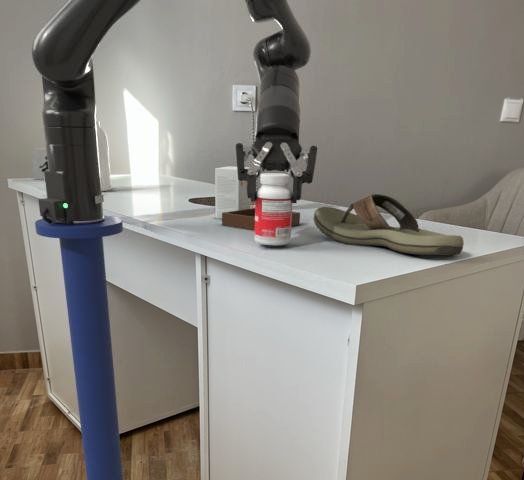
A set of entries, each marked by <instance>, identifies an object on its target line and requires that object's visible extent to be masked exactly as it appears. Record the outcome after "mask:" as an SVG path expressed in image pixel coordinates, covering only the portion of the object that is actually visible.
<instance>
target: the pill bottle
mask: <svg viewBox="0 0 524 480" xmlns="http://www.w3.org/2000/svg"><path fill="white" fill-rule="evenodd" d="M259 180H260V181H259V182H260V184H261V186H260V187H258V188H257V189H256V196H255V202H254V208H255V230H254V241H255V243H256V244H259V245H264V246H283V245H287V244H289V243H290V242H291V239H292V226H291V221H292V212H293V203H292V198H293V190H291V189H290V188H288V185H289V184H290V177H289V175H288V174H287V173H281V172H280V173H279V172H264V173H263V174H261V175H260V177H259Z"/></svg>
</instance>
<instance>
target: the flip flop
mask: <svg viewBox="0 0 524 480" xmlns="http://www.w3.org/2000/svg"><path fill="white" fill-rule="evenodd" d="M377 207H379V208H380V209H382V210H384V211H386V212H387V214H390V215H391V216H392V217H393V218H394V219H395V220H396V222H397V223H398V225H399V226H392V225H391V226H390V225H389V223H388V222H387V220H386V219H385V218H384V217H383V216H382V214H381V212H380V211H379V210H378V208H377ZM353 210H354V213H353V212H352V211H353ZM313 222H314V225H315V227H316V228H317V229H318V230H319V231H320V232H321V233H322V234H323V235H325V236H326V237H328V238H330V239H333V240H335V241H336V242H337V241H338V242H340V243H343V244H347V245H353V246H362V247H363V246H364V247H366V246H382V247H386V248H388V249H389V250H392V251H395V252H398V253H402V254H403V253H404V254H410V255H411V254H412V255H420V256H433V255H434V256H451V255H454V256H455V255H461V253H462V251H463V249H464V238H463V237H462V235H455V234H444V233H440V232H436V231H435V232H434V231H432V230H427V229H422V228H419V222H418V220H417V219H416V217H415V215H414V214H412V212H411V211H410V210H409V209H407V208H406V207H405V206H404V205H403V204H402V203H401V202H400V201H399V200H397V199H395V198H393V197H392V196H389V195H386V194H382V193H381V194H380V193H373V194H370V195H368V196H366V197H365V198H361V199H360V200H357V201H355V202H352V203H351V204H350V205H349V207H348V208H347V209H346V210H342V209H341V208H337V207H331V206H320V207H318V208H317V209H316V210H314V214H313Z"/></svg>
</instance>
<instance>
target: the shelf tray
mask: <svg viewBox="0 0 524 480" xmlns="http://www.w3.org/2000/svg"><path fill="white" fill-rule="evenodd" d="M300 220H301V212H298V211H292V221H291V227H295V226H300V225H301V223H300V222H301V221H300ZM221 225H222V226H223V227H231V228H236V229H243V230H250V231H255V207H250V209H244V210H237V211H231V212H224V213H222V219H221Z"/></svg>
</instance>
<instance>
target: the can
mask: <svg viewBox="0 0 524 480" xmlns="http://www.w3.org/2000/svg"><path fill="white" fill-rule="evenodd" d="M95 128H96V133H97V146H98V158H99V170H100V181H101V193H102V192H108V191H111V189H112V176H111V165H110V150H109V139H108V133H107V131H106V130H105V129H104V128H103V127H101V122H100V120H99V119H97V118H96V127H95Z"/></svg>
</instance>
